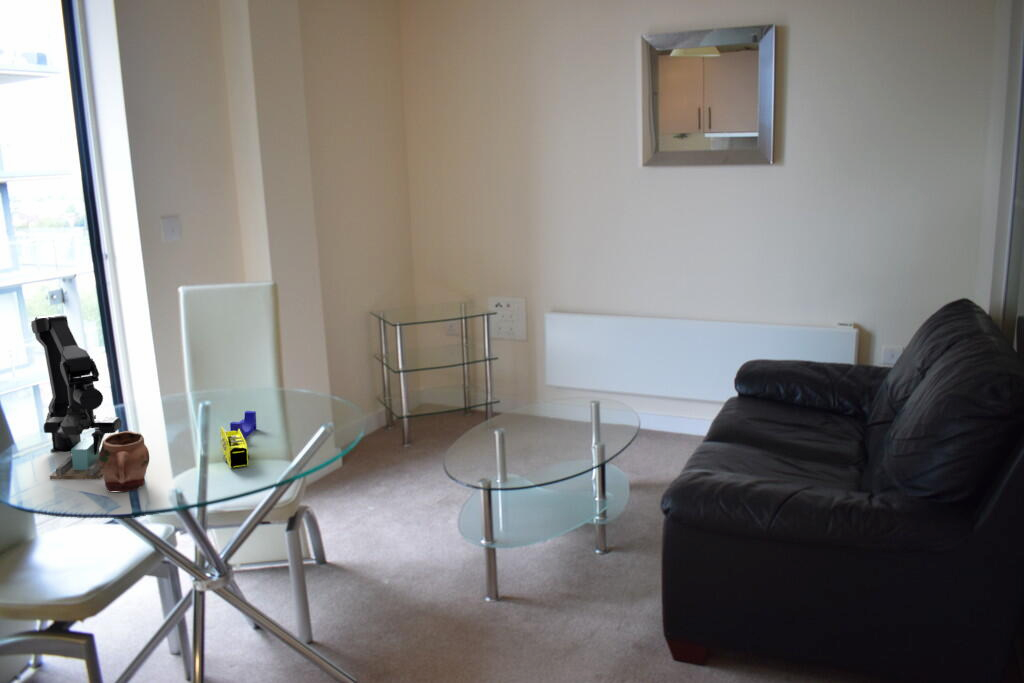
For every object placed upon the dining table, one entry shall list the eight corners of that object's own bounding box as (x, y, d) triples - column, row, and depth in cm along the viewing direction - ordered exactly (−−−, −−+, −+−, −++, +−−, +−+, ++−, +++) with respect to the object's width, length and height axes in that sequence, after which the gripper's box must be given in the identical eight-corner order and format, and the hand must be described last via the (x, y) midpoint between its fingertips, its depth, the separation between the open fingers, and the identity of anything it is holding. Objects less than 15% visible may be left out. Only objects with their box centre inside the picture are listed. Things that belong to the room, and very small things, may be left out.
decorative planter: (154, 499, 222) (149, 448, 218) (101, 507, 217) (96, 454, 213) (149, 471, 239) (145, 423, 236) (100, 477, 234) (95, 429, 231)
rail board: (49, 479, 232) (48, 468, 232) (75, 457, 248) (74, 447, 247) (99, 479, 233) (98, 468, 232) (122, 457, 249) (121, 447, 248)
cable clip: (242, 428, 275) (242, 410, 273) (256, 429, 274) (255, 411, 273) (226, 441, 263) (225, 422, 262) (240, 442, 263) (239, 423, 261)
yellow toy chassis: (220, 451, 255) (218, 424, 253) (240, 449, 258) (239, 422, 256) (228, 471, 241) (226, 442, 239) (249, 468, 244) (248, 440, 242)
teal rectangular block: (73, 470, 236) (71, 449, 235) (85, 459, 244) (83, 439, 243) (88, 470, 237) (86, 449, 235) (100, 459, 244) (98, 439, 243)
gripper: (30, 409, 227) (37, 465, 231) (104, 410, 229) (109, 465, 232) (50, 396, 238) (56, 450, 242) (120, 397, 239) (124, 450, 243)
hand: (85, 454), depth 240 cm, fingers open, 5 cm apart
